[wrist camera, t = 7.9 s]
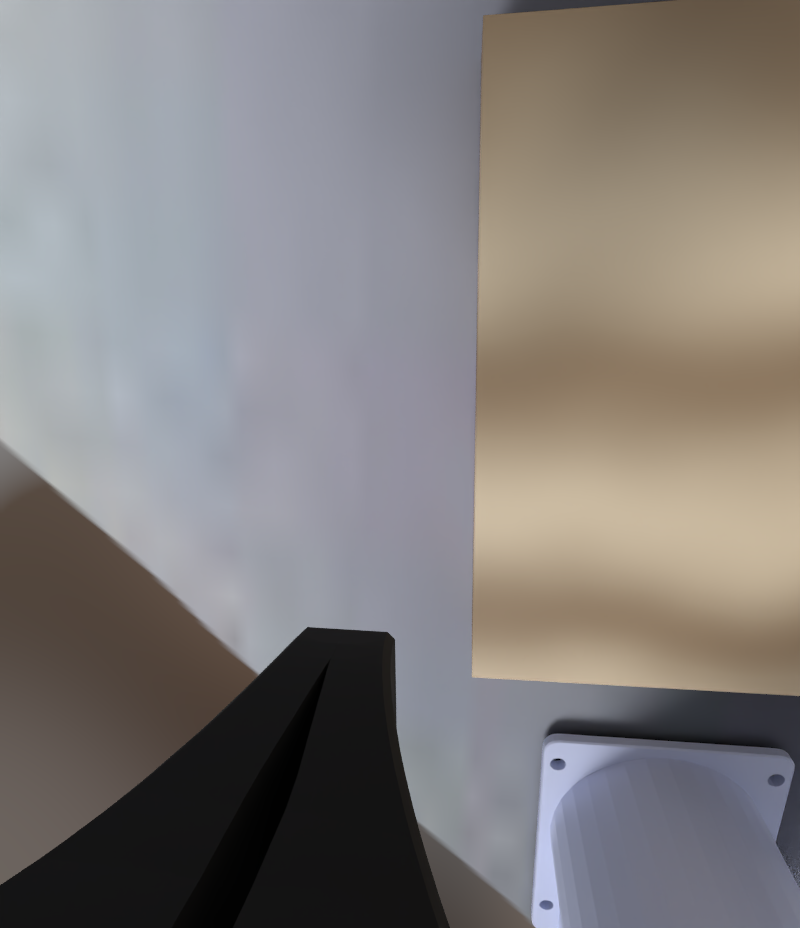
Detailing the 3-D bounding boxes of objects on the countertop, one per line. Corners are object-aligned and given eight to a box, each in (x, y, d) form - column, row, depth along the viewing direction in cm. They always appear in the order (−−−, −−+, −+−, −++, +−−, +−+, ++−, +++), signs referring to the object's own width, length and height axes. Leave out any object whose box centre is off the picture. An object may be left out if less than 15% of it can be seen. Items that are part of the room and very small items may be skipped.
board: (867, 644, 18) (928, 703, 15) (472, 626, 19) (472, 677, 17) (1047, 17, 12) (1181, -40, 10) (481, 56, 14) (483, 15, 11)
